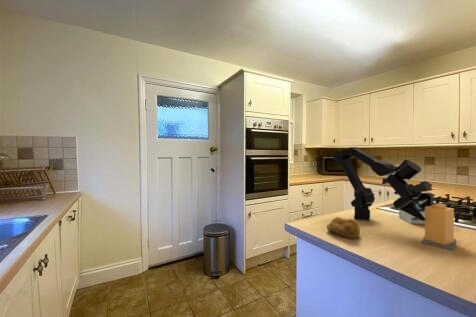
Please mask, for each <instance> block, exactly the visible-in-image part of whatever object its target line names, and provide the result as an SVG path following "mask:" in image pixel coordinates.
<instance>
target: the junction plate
mask: <svg viewBox="0 0 476 317" xmlns="http://www.w3.org/2000/svg"><path fill="white" fill-rule="evenodd" d="M456 242H457V239H456V238H454V242H452V243H449V244H446V245H443V244H440V243H436V242H433V241H430V240H427V239H425V236H424V237H423V239H422V240H421V244H425V245H428V246H433V247H437V248H441V249H446V250H450V251H454V250H455V245H456Z"/></svg>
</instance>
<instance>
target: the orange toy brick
mask: <svg viewBox="0 0 476 317" xmlns="http://www.w3.org/2000/svg"><path fill="white" fill-rule="evenodd" d="M454 224H455V208H452V207H447V205H446V204H443V203H434V202H433V205H432V206H427V207H425V224H424V237H425V239H427V240H430V241H433V242H436V243H440V244H443V245H446V244H449V243H452V242H454V239H455V238H454V236H455V235H454V234H455V233H454V232H455V230H454V228H455V225H454Z"/></svg>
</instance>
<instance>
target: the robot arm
mask: <svg viewBox="0 0 476 317" xmlns="http://www.w3.org/2000/svg"><path fill="white" fill-rule="evenodd" d="M353 157H354V158H355V159H357V160H360V161H361V162H363V163H364V164H366V165H367V166H369V167H370V168H371V170H372V172H374V174H375V175H377V176H379V177H383V178H382V182H381V184H382V185H387V184H388V185H389V186H390V187H391V188H392V189H393V190H394V191H393V194H395V195H398V198H397V199H396V200H394V201H393V202H392V205H393V207H394V208H395V209H396V210H398V211H399V210H402V211H404V212H406V213H408V214H410V215H412V216H414V217H416V218H418V219H420V220H422V221H424V220H425V218H424V217H423V215H422V214H421V213H420V211H419V210H418V209H417V207H416V204H418V205H419V207H420V208H422V209H423V210H425V207H427V206H432V205H433V204H434V200H435V197H436V196H435V195H434V193H432V192H430V191H432V190H433V189H432V186H433V184H431V183H430V182H429V181H427V180H423V181H420V182H419V183H417V184H413V183H408V182H407V181H406V180H411V179H412V178H414V177H416V175H418V174H419V173H420V172H422V168H421V166H420V165H419V164H416V163H415V162H413V161H411V160H410V159H403V161H402V162H401V163H400V164H399V165H398V166H396V165H394V164H393V163H391V162H388V161H386V160H385V161H384V160H380V159H377V158H375V157H374V156H372V155H370V154H369V153H367V152H366V151H363V150H362V149H360V148H359V147H357V146H353V147H352V146H351V147H349V148H345V149H341V150H340V149H338V150H335V151H334V152H333V154H332V158H333V160H334V161H335V162H336V164H337V165H339V166H341V168H342V171H344V173H345V175H346V177H347V179H348V181H349V183H350V184H351V187H352V188H353V196H354V199H353V200H351V201H350V204H351V206H352V207H353V208H354V213H353V214H354V215H353V217H354V219H355V220H362V221H370V219H371V209H370V207H372V206H373V203H374V202H375V200H376V198H375V193H374V192H373V191H372V188H371V187H366V186H365V185H364V184H363V182H362V180H361V178H360V177H359V175H358V173H357V171H356V170H355V168H354V166H353V165H352V163H351V162H352V158H353ZM386 176H387V177H386ZM428 191H429V192H428ZM399 197H400V198H399Z"/></svg>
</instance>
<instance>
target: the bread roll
mask: <svg viewBox="0 0 476 317" xmlns="http://www.w3.org/2000/svg"><path fill="white" fill-rule="evenodd" d="M326 229H327V231H328V232H329V233H331V234H334V235H336V236H339V237H342V238H344V237H345V239H350V240H351V239H352V240H353V239H357V238H358V237H359V236H360V235H361V227H360V225H359V223H357V221H356V220H354V219H353V220H352V219H351V218H349V219H348V218H346V219H344V218H342V217H337V216H336V217H334V218H332V220H331V221H330V222H329V223H328V224H327V225H326Z"/></svg>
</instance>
